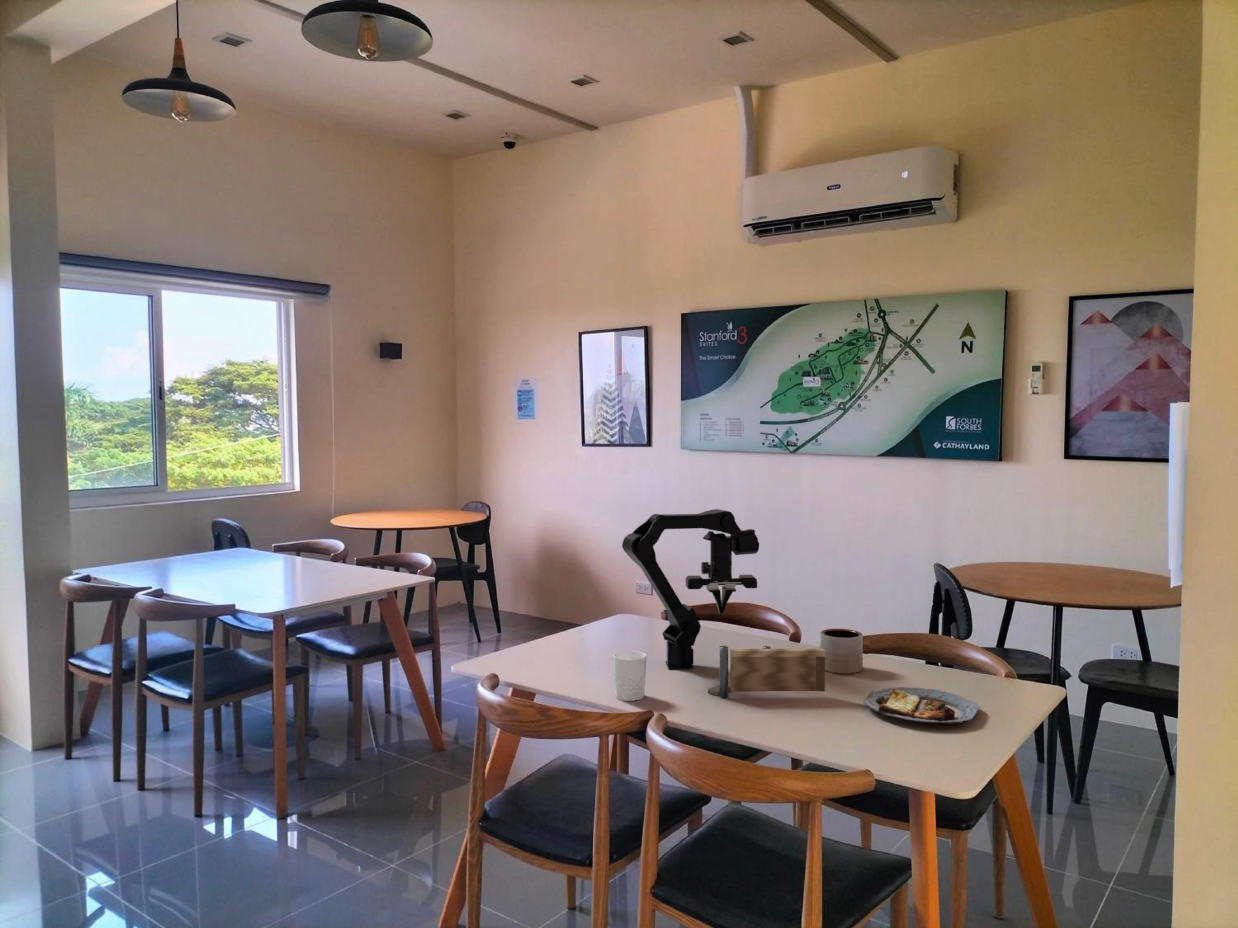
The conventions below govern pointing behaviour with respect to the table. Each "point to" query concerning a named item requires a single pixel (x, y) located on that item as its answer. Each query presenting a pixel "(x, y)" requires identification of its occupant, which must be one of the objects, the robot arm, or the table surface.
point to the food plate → (908, 705)
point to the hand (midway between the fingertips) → (721, 613)
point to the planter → (842, 650)
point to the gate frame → (724, 674)
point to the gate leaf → (777, 670)
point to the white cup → (629, 675)
